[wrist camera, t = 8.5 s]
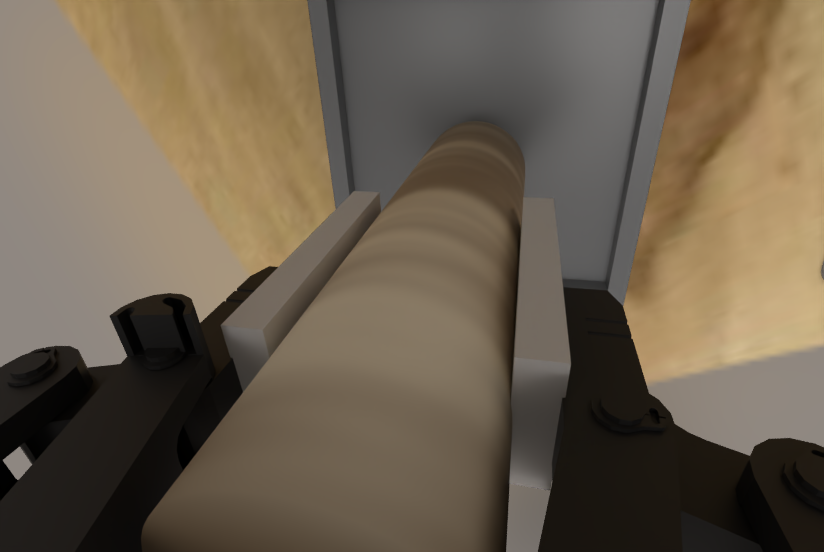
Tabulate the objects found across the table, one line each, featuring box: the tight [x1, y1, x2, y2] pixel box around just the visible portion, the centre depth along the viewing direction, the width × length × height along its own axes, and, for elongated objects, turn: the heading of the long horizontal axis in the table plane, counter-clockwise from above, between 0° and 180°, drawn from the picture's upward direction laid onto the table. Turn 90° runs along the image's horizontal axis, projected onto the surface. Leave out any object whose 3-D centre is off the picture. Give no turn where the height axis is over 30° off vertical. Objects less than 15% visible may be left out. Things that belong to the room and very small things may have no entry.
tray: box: [307, 0, 691, 306], centre depth 20 cm, size 14×14×1 cm
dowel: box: [141, 121, 525, 552], centre depth 12 cm, size 4×4×16 cm
